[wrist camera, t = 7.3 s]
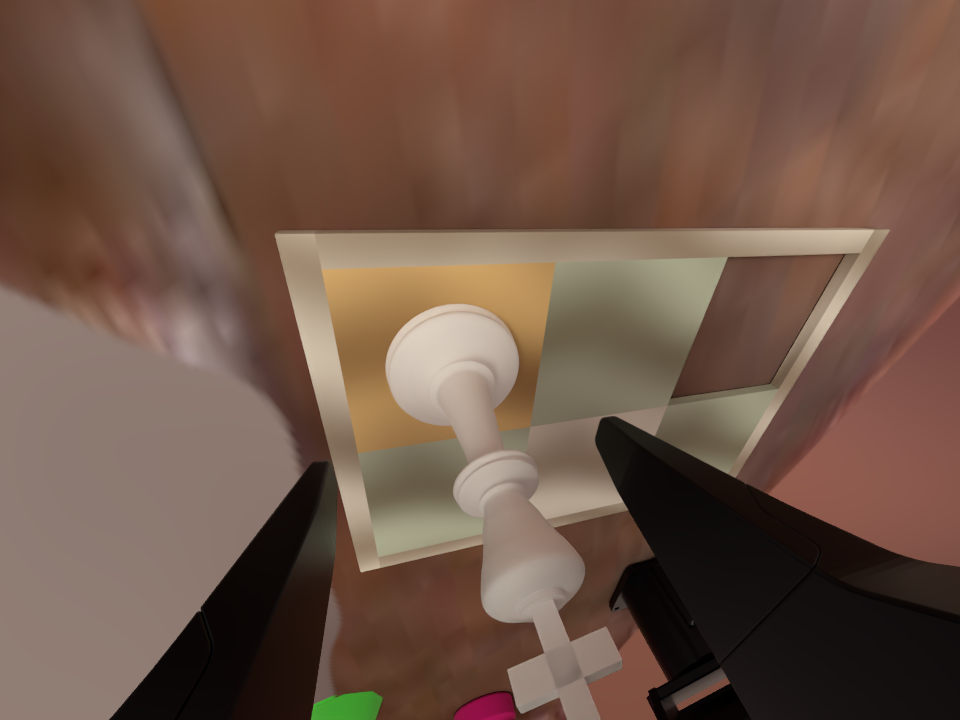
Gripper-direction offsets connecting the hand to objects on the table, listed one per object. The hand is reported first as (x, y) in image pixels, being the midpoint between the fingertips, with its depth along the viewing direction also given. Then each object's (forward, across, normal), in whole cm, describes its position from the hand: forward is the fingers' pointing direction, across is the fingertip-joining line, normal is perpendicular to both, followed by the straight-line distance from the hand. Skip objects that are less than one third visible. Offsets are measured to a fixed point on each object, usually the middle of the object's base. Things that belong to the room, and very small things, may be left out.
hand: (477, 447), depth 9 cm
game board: (+5, -8, +4) cm, 10 cm away
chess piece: (+4, 0, 0) cm, 5 cm away
